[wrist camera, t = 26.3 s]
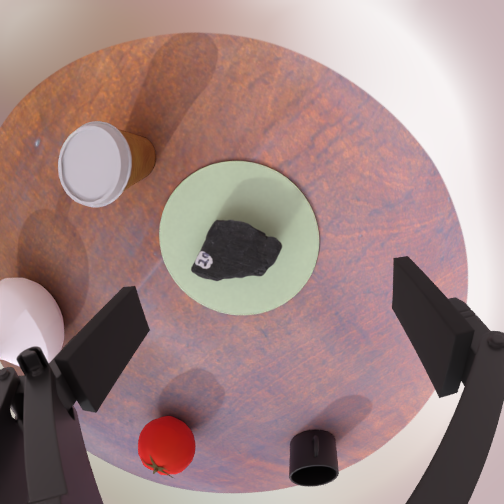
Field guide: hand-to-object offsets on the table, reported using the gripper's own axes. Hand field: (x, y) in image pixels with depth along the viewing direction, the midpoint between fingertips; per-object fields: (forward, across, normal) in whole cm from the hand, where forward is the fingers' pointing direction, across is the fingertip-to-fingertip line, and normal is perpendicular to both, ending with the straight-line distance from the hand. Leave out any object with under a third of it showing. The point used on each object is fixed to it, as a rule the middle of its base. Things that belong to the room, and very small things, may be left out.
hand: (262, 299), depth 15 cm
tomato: (+27, -26, -42) cm, 56 cm away
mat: (+27, -6, -5) cm, 28 cm away
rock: (+26, -6, -5) cm, 28 cm away
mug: (+27, +2, -48) cm, 55 cm away
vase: (+27, -47, -13) cm, 56 cm away
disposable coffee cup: (+27, -18, +9) cm, 34 cm away
